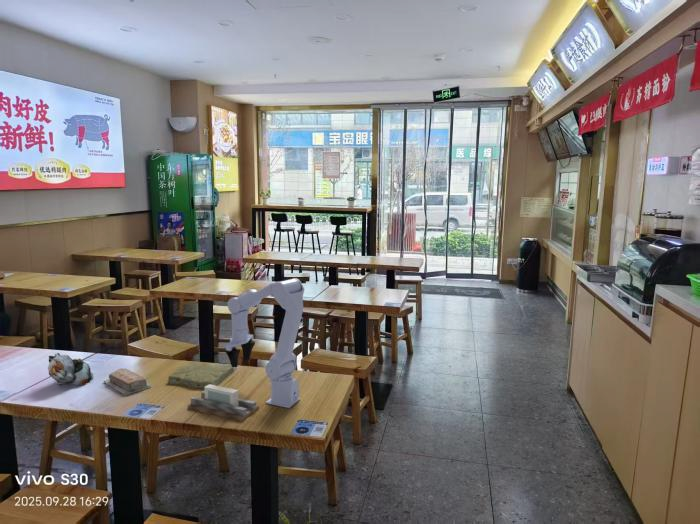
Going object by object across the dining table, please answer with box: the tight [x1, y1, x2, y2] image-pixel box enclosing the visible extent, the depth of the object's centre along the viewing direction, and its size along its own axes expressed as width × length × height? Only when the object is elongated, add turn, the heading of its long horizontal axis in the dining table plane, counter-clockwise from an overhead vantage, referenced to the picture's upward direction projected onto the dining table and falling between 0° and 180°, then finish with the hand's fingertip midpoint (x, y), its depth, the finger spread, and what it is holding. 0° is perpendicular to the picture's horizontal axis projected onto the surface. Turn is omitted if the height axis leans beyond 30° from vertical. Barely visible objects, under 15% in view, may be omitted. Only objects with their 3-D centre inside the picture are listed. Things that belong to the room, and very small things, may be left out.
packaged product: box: [103, 367, 152, 396], centre depth 179 cm, size 18×5×10 cm
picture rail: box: [187, 390, 260, 422], centre depth 161 cm, size 22×10×3 cm, turn 67°
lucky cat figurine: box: [47, 352, 94, 386], centre depth 180 cm, size 15×12×14 cm
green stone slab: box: [167, 361, 235, 389], centre depth 187 cm, size 19×20×4 cm
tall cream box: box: [203, 384, 239, 407], centre depth 161 cm, size 12×3×6 cm, turn 67°
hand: (240, 363), depth 177 cm, fingers open, 7 cm apart
